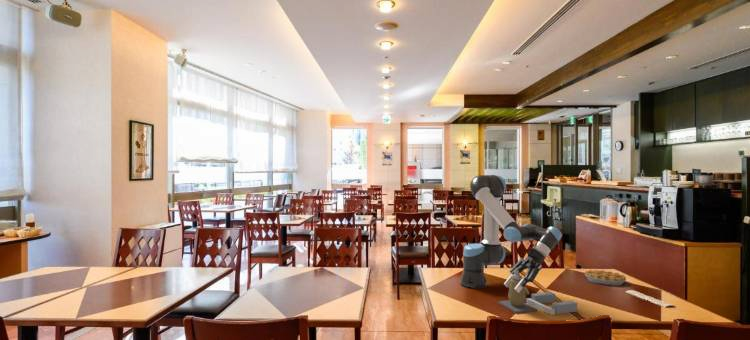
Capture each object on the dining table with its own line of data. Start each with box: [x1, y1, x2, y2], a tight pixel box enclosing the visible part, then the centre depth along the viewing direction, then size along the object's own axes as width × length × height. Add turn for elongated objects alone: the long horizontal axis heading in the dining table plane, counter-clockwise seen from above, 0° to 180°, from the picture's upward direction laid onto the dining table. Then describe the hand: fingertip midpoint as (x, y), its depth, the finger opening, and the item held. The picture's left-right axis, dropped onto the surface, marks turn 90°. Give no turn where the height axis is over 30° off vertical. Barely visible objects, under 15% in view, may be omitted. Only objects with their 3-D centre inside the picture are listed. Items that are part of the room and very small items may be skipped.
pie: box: [584, 269, 627, 286], centre depth 224 cm, size 22×22×5 cm
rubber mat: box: [497, 299, 539, 315], centre depth 178 cm, size 14×12×1 cm
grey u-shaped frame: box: [525, 291, 578, 316], centre depth 179 cm, size 17×15×4 cm
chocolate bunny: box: [522, 276, 530, 297], centre depth 198 cm, size 6×8×10 cm
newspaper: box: [625, 289, 676, 308], centre depth 191 cm, size 24×7×2 cm, turn 8°
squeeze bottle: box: [507, 268, 527, 307], centre depth 178 cm, size 8×8×18 cm
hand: (511, 288), depth 177 cm, fingers open, 7 cm apart
